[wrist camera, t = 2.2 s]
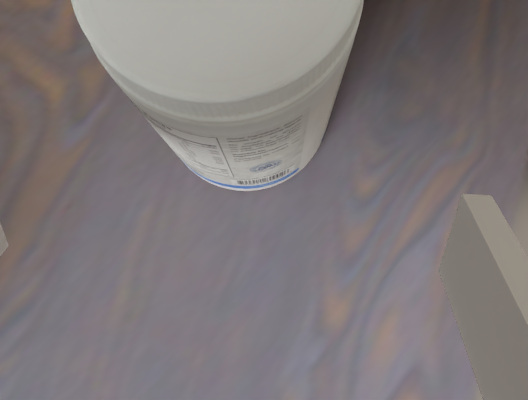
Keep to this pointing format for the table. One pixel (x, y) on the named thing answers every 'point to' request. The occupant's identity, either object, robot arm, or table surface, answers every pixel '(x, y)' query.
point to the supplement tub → (228, 77)
